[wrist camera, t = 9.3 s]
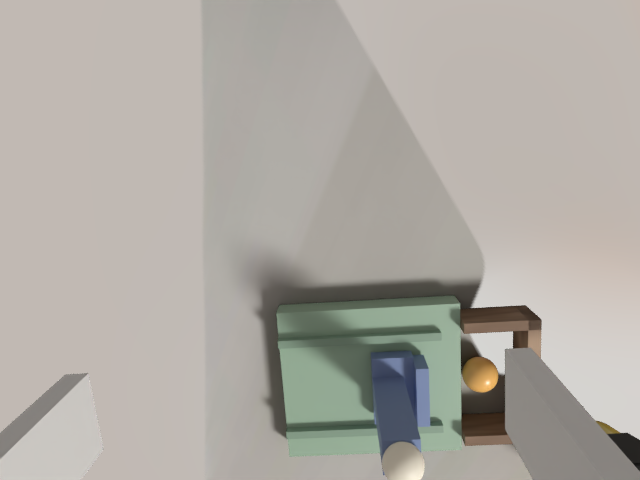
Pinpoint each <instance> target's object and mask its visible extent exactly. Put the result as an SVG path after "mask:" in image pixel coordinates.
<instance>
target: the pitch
mask: <svg viewBox="0 0 640 480" xmlns="http://www.w3.org/2000/svg"><path fill="white" fill-rule="evenodd" d="M276 317H277V327H278V349H280V359H281V370H282V381H283V392H284V402H285V413H286V424H287V430H286V437H287V439H288V445H289V456H290V457H294V456H319V455H344V454H369V453H380V447H379V440H378V432H377V425H376V424H375V422H374V411H373V392H372V373H371V353H370V352H390V351H410V350H411V352H412V355H424V358H425V360H426V363H427V365H428V368H429V394H430V427H418V426H417V428H418V431H419V435H420V438H421V451H443V450H462V425H461V338H460V303H459V301H458V300H457V299H456V297H455V296H454V295H451V296H433V297H415V298H397V299H378V300H360V301H342V302H324V303H306V304H288V305H279V307H278V310H277V313H276ZM415 420H416V419H415ZM416 424H417V423H416Z"/></svg>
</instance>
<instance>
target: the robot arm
mask: <svg viewBox="0 0 640 480" xmlns="http://www.w3.org/2000/svg"><path fill="white" fill-rule="evenodd" d="M505 430H506V432H507V434H508V435H509V437H510V439H511V441H512V443H513V444H514V446H515V448H516V450H517V452H518V453H519V455H520V457H521V459H522V461H523V462H524V464H525V466H526V468H527V470H528V471H529V473H530V475H531V477H532V479H533V480H640V440H639V439H637V438H635V437H634V436H631V435H630V434H628V433H615V434H606V433H605V431H604V430H603V429H602V428H601V427H600V426H599V425H598V423H597V422H596V421H595V420H594V419H593V418H592V417H591V416H590V415H589V413H588V412H587V411H586V410H585V409H584V408H583V406H582V405H581V404H580V403H579V402H578V401H577V400H576V398H575V397H574V396H573V395H572V394H571V393H570V392H569V391H568V389H567V388H566V387H565V386H564V385H563V384H562V383H561V381H560V380H559V379H558V378H557V377H556V376H555V375H554V373H553V372H552V371H551V370H550V369H549V368H548V367H547V366H546V364H545V363H544V362H543V361H542V360H541V359H540V358H539V356H538V355H537V354H536V353H535V352H534V351H533V350H532V349H531V348H515V349H505ZM102 450H103V444H102V439H101V434H100V429H99V424H98V419H97V414H96V409H95V404H94V399H93V394H92V389H91V384H90V379H89V374H88V373H86V374H70V375H69V374H68V375H64V376H63V377H62V378H61V379H60V380H59V381H58V382H57V383H55V384H54V385H53V386H52V387H51V388H50V389H49V390H48V391H46V392H45V393H44V394H43V395H42V396H41V397H40V398H39V399H38V400H36V401H35V402H34V403H33V404H32V405H31V406H30V407H29V408H28V409H26V410H25V411H24V412H23V413H22V414H21V415H20V416H19V417H18V418H16V419H15V420H14V421H13V422H12V423H11V424H10V425H9V426H7V427H6V428H5V429H4V430H3V431H2V432H1V433H0V480H81V479H82V478H83V476H84V475H85V474H86V472H87V471H88V470H89V468H90V467H91V465H92V464H93V463H94V462H95V460H96V459H97V457H98V456H99V455H100V453H101V452H102Z"/></svg>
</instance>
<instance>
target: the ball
mask: <svg viewBox="0 0 640 480" xmlns="http://www.w3.org/2000/svg"><path fill="white" fill-rule="evenodd" d="M462 377H463V380H464V382H465V384H466V385H467V386H468V387H469V388H470V389H472V390H473V391H476V392H487V391H490V390H491V389H493V388H494V387H495V385H496V384H497V381H498V371H497V368H496V366H495V365H494V364H493V363H492V362H491V361H490V360H488V359H486V358H484V357H474V358H471V359H469V360H468V361H467V362H466V363H465V365H464V367H463V370H462Z"/></svg>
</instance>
